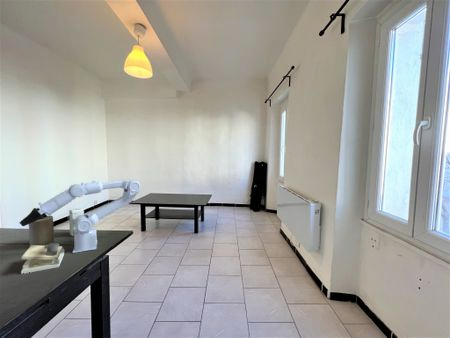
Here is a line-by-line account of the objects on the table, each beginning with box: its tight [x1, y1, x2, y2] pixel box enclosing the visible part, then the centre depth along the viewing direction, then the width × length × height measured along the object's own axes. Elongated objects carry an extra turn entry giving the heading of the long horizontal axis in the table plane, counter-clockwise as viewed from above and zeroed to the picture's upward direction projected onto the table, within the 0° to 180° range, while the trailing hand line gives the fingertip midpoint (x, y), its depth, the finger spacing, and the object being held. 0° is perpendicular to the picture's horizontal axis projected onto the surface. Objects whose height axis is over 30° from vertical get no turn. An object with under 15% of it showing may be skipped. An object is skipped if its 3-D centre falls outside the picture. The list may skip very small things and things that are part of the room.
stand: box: [20, 248, 65, 275], centre depth 91 cm, size 12×13×3 cm
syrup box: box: [68, 207, 85, 237], centre depth 124 cm, size 6×6×14 cm
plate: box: [21, 242, 64, 260], centre depth 91 cm, size 11×12×5 cm
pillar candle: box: [28, 215, 55, 247], centre depth 110 cm, size 10×10×15 cm
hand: (23, 223), depth 91 cm, fingers open, 7 cm apart
